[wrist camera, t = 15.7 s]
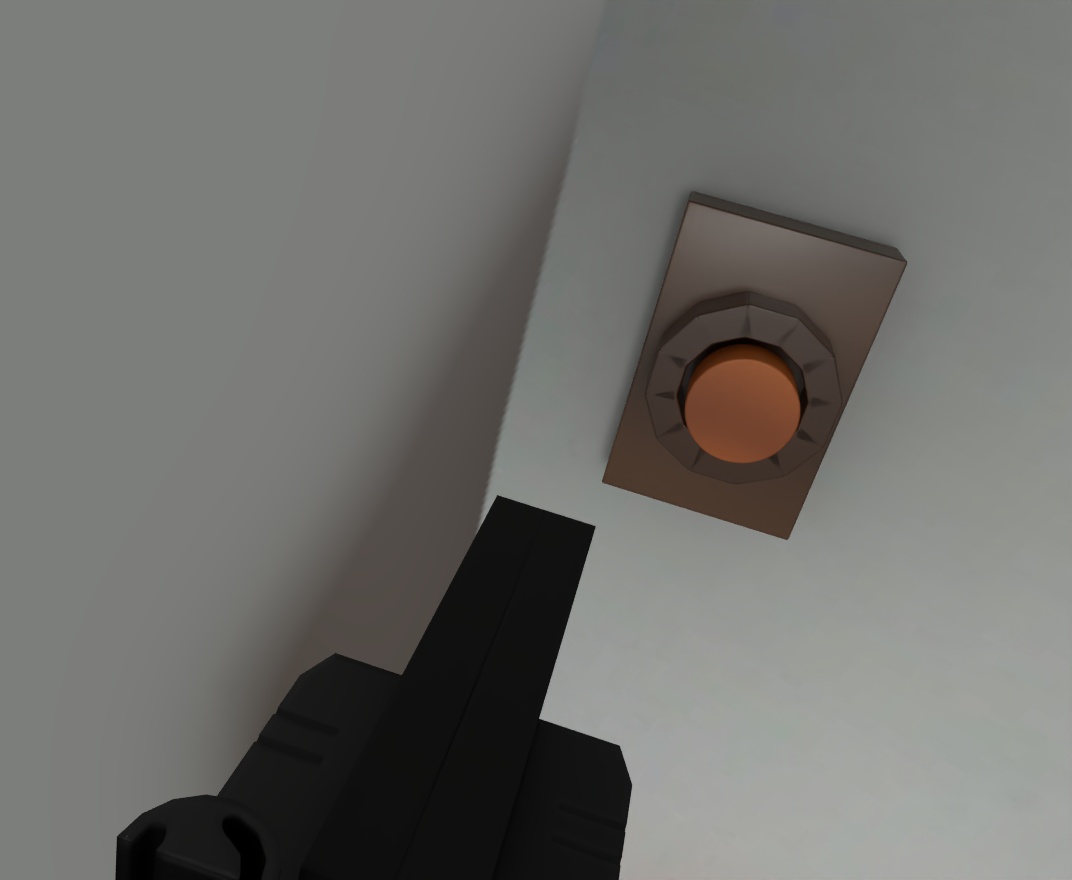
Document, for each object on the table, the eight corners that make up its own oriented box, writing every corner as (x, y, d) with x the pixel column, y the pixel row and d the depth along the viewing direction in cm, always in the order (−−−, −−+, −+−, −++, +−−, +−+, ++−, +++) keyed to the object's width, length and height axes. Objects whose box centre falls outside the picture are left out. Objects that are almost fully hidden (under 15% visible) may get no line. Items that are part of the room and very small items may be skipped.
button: (706, 329, 33) (704, 344, 31) (813, 361, 32) (817, 378, 31) (673, 426, 34) (670, 444, 33) (775, 457, 34) (777, 477, 32)
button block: (691, 190, 34) (685, 208, 31) (898, 248, 33) (917, 273, 30) (608, 460, 39) (595, 502, 36) (785, 515, 39) (790, 564, 35)
